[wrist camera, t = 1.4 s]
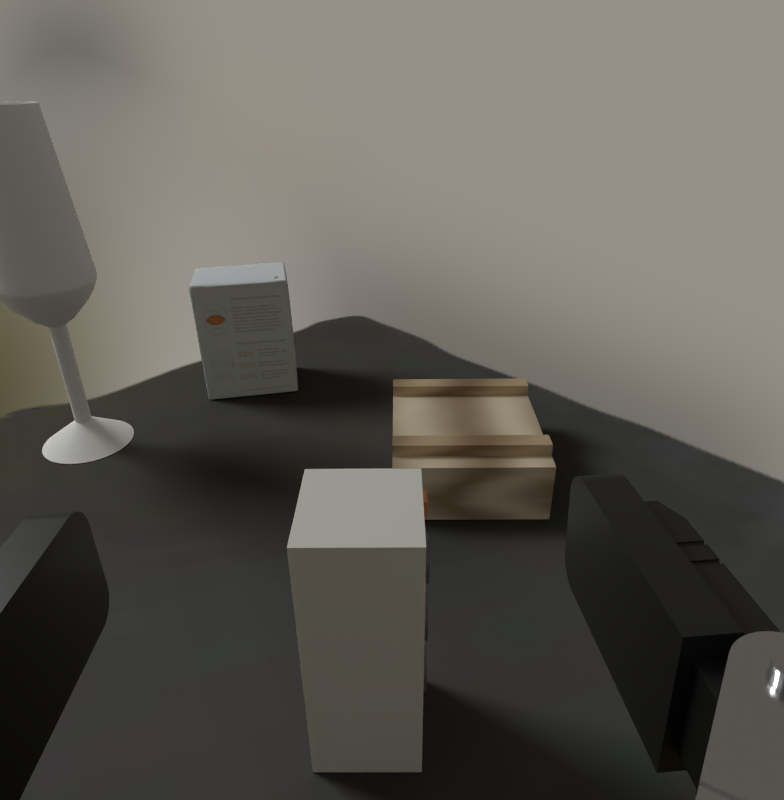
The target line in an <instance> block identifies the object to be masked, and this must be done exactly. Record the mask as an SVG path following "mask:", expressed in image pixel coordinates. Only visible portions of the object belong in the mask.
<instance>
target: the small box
mask: <svg viewBox="0 0 784 800" xmlns="http://www.w3.org/2000/svg"><path fill="white" fill-rule="evenodd" d="M189 292H190V297H191V302H192V308H193V313H194V319H195V324H196V330H197V336H198V342H199V347H200V353H201V358H202V363H203V369H204V375H205V380H206V385H207V391H208V397H209V399H211V400H213V399H223V398H233V397H243V396H253V395H263V394H273V393H283V392H292V391H297V390H298V380H297V368H296V357H295V347H294V337H293V327H292V318H291V309H290V300H289V293H288V292H289V291H288V284H287V278H286V272H285V266H284V263H283V262H277V263H263V264H248V265H233V266H219V267H206V268H196V269H195V272H194V275H193V278H192V281H191V284H190V286H189Z"/></svg>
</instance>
